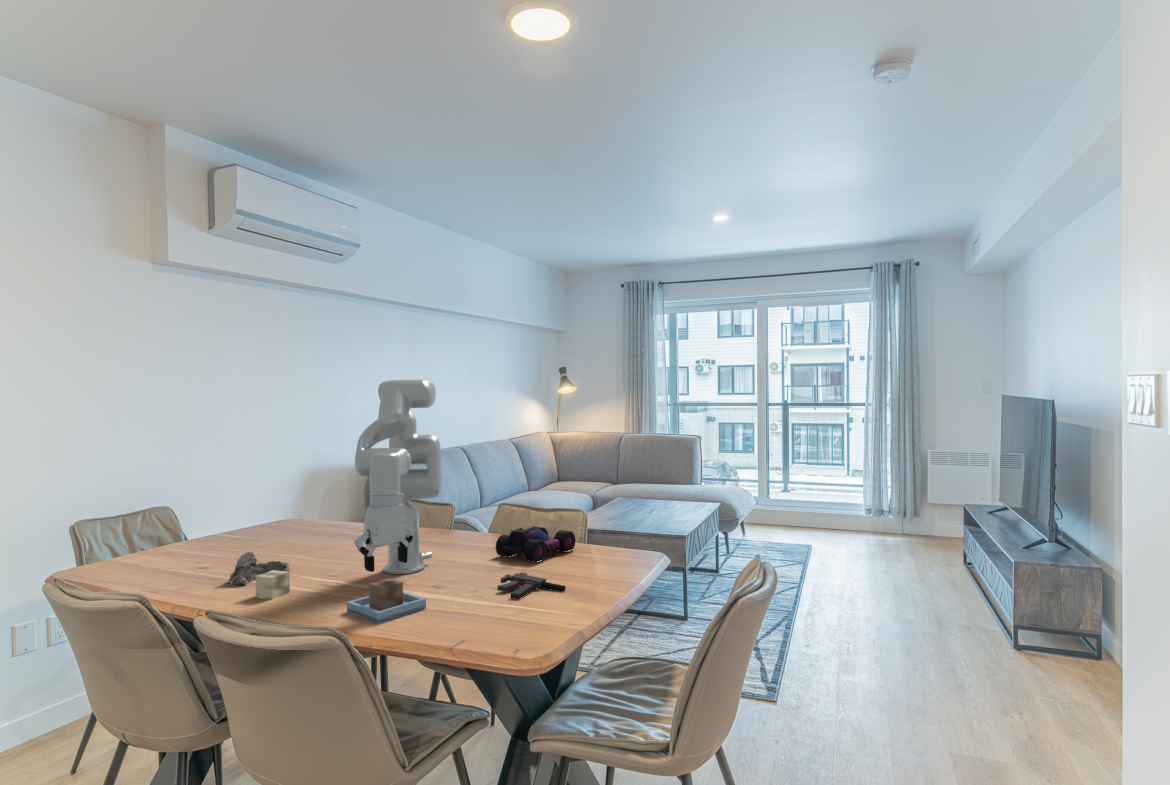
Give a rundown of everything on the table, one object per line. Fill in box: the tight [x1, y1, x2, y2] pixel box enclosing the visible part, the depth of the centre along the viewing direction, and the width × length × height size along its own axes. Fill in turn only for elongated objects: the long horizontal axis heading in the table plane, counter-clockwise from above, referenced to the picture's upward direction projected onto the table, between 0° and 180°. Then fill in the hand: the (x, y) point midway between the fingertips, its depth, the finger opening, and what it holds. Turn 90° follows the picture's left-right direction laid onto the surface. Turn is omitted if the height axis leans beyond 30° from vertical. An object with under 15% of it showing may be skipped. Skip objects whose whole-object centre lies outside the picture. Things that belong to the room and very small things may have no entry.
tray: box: [346, 591, 427, 624], centre depth 165 cm, size 14×14×2 cm
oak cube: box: [255, 570, 291, 600], centre depth 180 cm, size 6×6×6 cm
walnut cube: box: [368, 577, 404, 611], centre depth 165 cm, size 6×6×6 cm
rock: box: [228, 551, 290, 586], centre depth 198 cm, size 18×11×10 cm, turn 139°
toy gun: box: [497, 571, 567, 600], centre depth 179 cm, size 3×19×15 cm
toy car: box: [495, 525, 576, 563], centre depth 222 cm, size 17×25×10 cm, turn 144°
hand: (386, 566), depth 166 cm, fingers open, 9 cm apart
